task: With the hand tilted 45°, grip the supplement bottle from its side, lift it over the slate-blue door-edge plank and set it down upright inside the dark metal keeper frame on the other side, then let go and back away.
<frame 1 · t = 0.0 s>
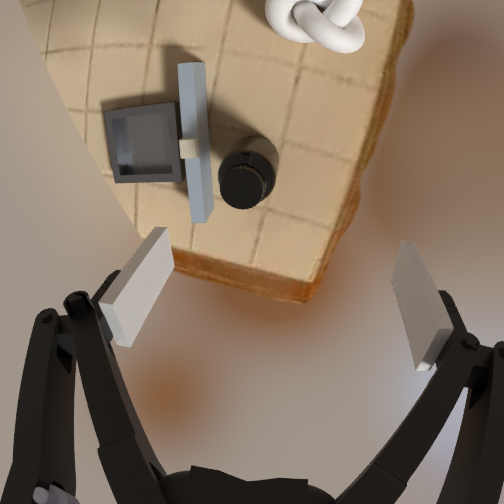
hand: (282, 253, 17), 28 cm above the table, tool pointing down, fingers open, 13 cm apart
white trefoil knot: (322, 20, 31), on the table
supplement bottle: (255, 157, 43), on the table
keeper frame: (148, 141, 43), on the table
door edge plank: (202, 138, 42), on the table
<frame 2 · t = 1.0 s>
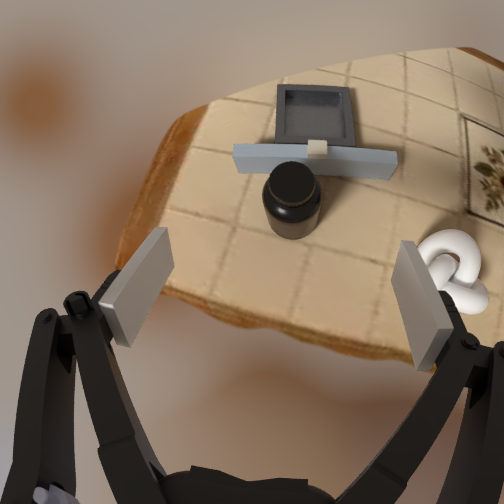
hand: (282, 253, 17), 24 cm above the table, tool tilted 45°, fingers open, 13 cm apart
white trefoil knot: (430, 288, 38), on the table
supplement bottle: (292, 217, 43), on the table
keeper frame: (314, 121, 45), on the table
door edge plank: (315, 168, 43), on the table
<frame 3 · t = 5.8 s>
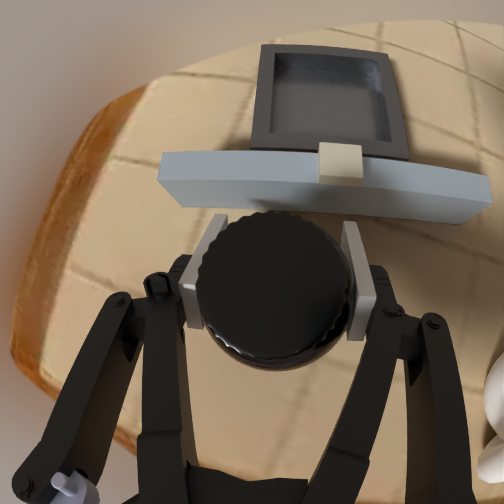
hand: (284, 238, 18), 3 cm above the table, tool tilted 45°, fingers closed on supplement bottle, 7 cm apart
white trefoil knot: (501, 410, 17), on the table
supplement bottle: (281, 301, 21), on the table, touching gripper
keeper frame: (327, 108, 24), on the table
door edge plank: (329, 200, 22), on the table
when the fingers open (5 cm above the table, at t = 11.5 s): supplement bottle stays where it is, resting on keeper frame.
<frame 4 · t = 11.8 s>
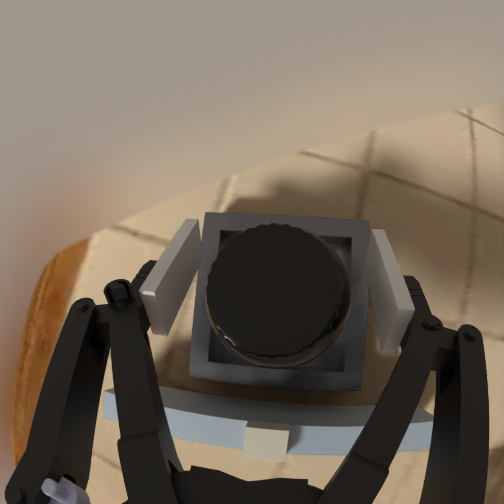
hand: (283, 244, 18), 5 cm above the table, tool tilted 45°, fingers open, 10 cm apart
supplement bottle: (282, 303, 22), resting on keeper frame
keeper frame: (282, 302, 23), on the table
door edge plank: (271, 414, 21), on the table
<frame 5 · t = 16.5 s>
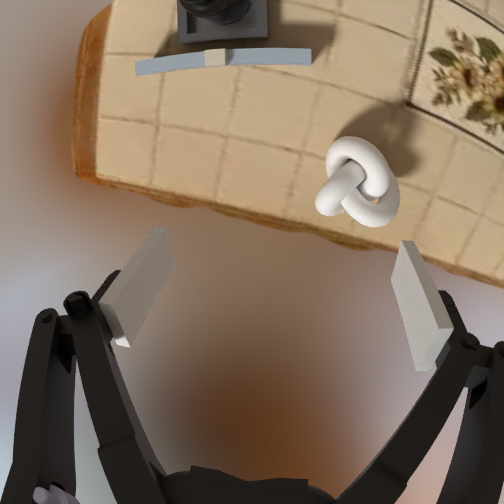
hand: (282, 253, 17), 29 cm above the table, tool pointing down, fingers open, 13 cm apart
white trefoil knot: (348, 175, 43), on the table
supplement bottle: (224, 3, 31), resting on keeper frame
keeper frame: (224, 3, 31), on the table
door edge plank: (226, 59, 36), on the table
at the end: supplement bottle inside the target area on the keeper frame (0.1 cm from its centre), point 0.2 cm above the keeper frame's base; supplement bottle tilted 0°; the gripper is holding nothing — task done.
